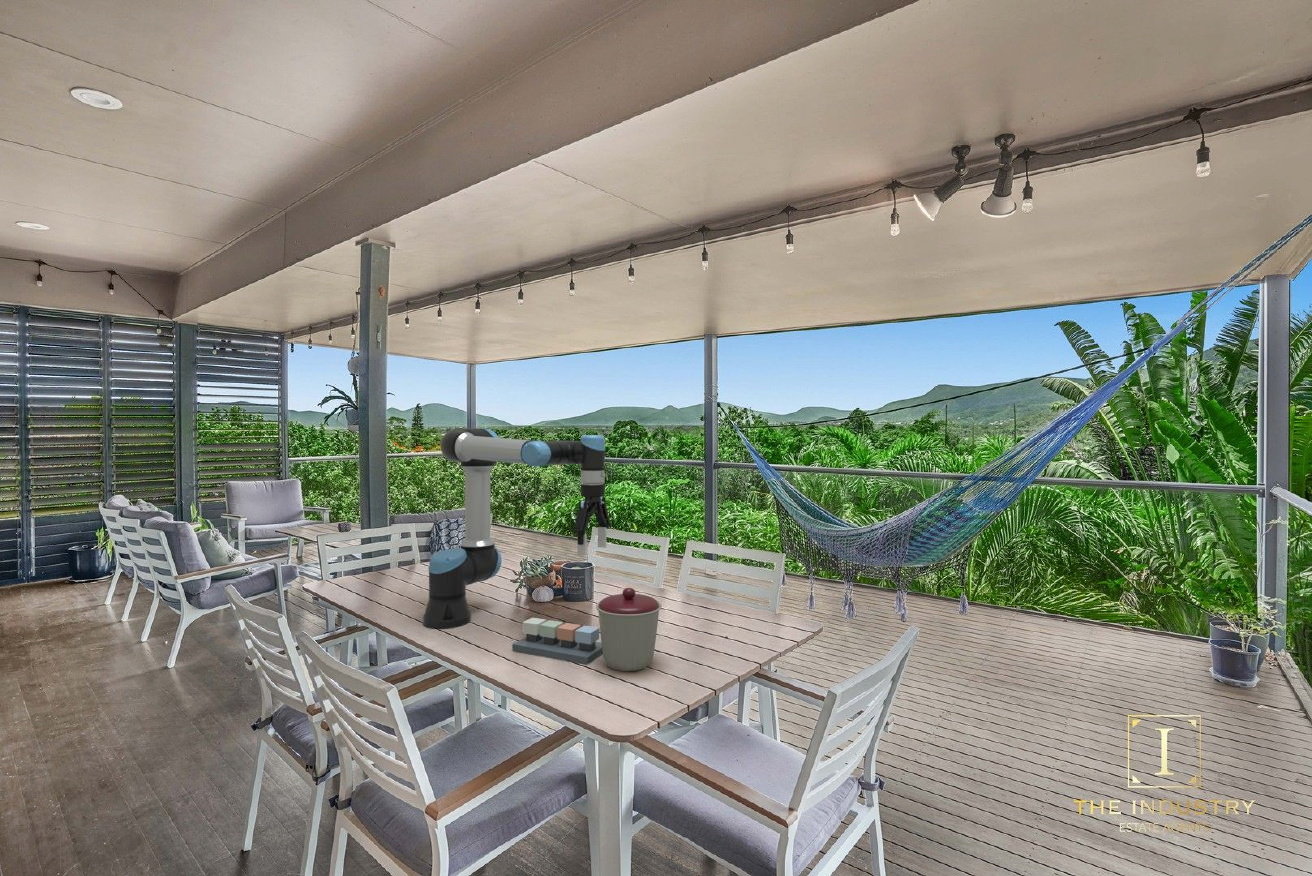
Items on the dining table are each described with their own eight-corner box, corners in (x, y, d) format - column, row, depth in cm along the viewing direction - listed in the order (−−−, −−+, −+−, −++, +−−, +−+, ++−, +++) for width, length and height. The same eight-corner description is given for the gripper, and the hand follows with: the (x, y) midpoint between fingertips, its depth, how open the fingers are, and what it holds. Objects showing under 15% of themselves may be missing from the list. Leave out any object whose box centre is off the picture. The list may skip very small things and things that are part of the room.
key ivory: (522, 633, 176) (522, 622, 176) (532, 628, 181) (532, 617, 181) (536, 635, 174) (536, 624, 174) (546, 630, 179) (546, 619, 179)
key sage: (539, 635, 174) (539, 625, 174) (549, 630, 178) (549, 620, 178) (554, 638, 172) (554, 627, 172) (563, 633, 176) (563, 622, 176)
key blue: (575, 641, 169) (575, 630, 169) (584, 636, 174) (584, 625, 174) (590, 644, 167) (590, 633, 167) (599, 639, 172) (599, 627, 172)
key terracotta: (557, 638, 171) (557, 627, 171) (566, 633, 176) (566, 622, 176) (572, 641, 169) (572, 630, 169) (581, 636, 174) (581, 625, 174)
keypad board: (512, 651, 173) (512, 636, 173) (536, 638, 184) (536, 624, 184) (587, 664, 164) (587, 649, 163) (607, 650, 175) (608, 636, 175)
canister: (626, 647, 177) (626, 576, 177) (674, 663, 165) (675, 587, 165) (581, 665, 163) (582, 588, 163) (630, 683, 151) (631, 601, 151)
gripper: (584, 487, 175) (583, 559, 175) (620, 481, 198) (619, 545, 198) (562, 486, 178) (561, 557, 178) (600, 480, 201) (599, 543, 201)
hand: (592, 551), depth 188 cm, fingers open, 13 cm apart
